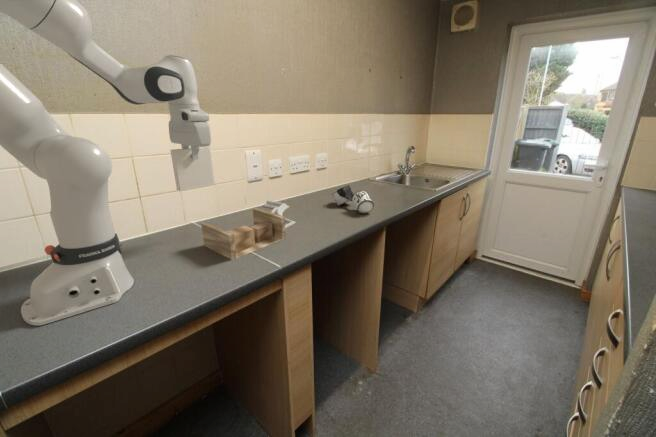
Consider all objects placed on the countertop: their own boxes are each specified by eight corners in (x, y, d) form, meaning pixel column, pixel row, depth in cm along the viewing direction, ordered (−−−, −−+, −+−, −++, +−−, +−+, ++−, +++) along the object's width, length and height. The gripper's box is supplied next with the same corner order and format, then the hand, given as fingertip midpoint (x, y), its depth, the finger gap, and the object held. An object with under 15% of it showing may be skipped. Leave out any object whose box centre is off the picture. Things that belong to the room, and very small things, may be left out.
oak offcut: (234, 253, 98) (232, 236, 96) (225, 249, 101) (223, 232, 99) (255, 245, 103) (253, 228, 101) (246, 241, 106) (244, 225, 104)
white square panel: (180, 191, 100) (174, 150, 96) (177, 190, 101) (170, 149, 97) (214, 184, 109) (209, 147, 104) (210, 183, 110) (205, 146, 106)
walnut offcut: (258, 242, 105) (257, 229, 104) (251, 239, 108) (249, 226, 106) (272, 237, 110) (272, 224, 109) (265, 234, 113) (264, 221, 111)
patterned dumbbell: (378, 213, 141) (379, 192, 137) (361, 217, 136) (362, 195, 132) (344, 200, 160) (344, 181, 157) (328, 203, 155) (328, 184, 152)
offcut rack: (232, 264, 94) (229, 235, 91) (204, 249, 104) (201, 223, 101) (285, 241, 110) (284, 216, 107) (257, 231, 120) (255, 207, 117)
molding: (262, 206, 153) (262, 200, 152) (286, 203, 156) (286, 198, 156) (271, 238, 115) (271, 230, 114) (303, 234, 118) (303, 227, 117)
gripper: (160, 114, 101) (167, 157, 106) (192, 115, 89) (198, 163, 93) (179, 114, 106) (185, 155, 110) (212, 114, 93) (217, 160, 98)
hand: (191, 158), depth 102 cm, fingers closed on white square panel, 2 cm apart
